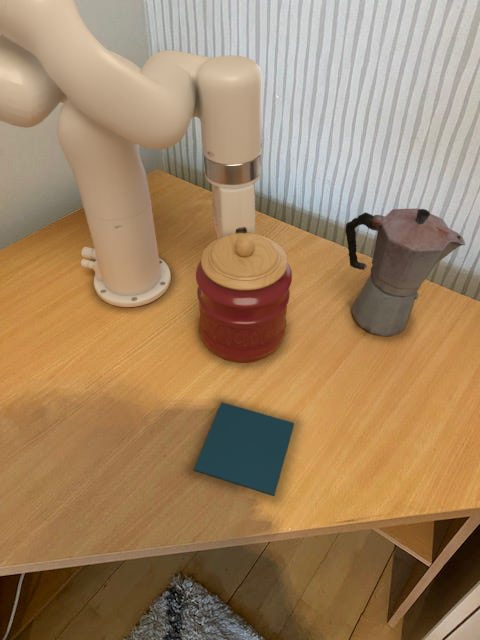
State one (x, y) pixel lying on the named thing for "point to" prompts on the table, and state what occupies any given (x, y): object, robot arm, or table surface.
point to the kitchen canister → (243, 296)
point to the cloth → (245, 448)
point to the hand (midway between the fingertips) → (237, 270)
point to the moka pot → (397, 265)
